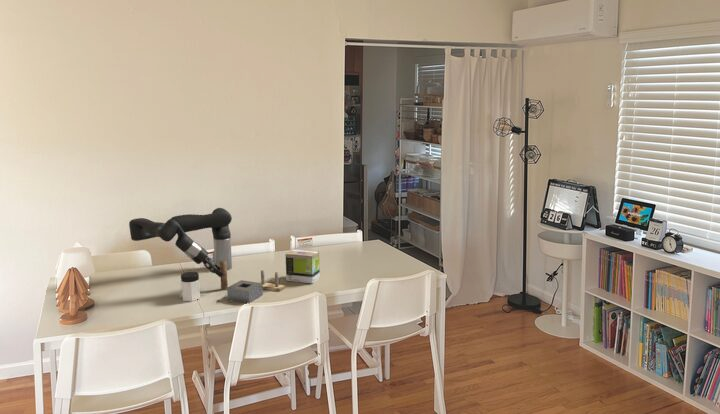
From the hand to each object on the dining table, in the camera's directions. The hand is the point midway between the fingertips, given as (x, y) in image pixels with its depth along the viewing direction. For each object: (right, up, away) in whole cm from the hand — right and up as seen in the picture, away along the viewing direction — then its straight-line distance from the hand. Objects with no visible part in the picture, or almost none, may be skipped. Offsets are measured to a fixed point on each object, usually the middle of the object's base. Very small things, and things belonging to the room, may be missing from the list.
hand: (220, 273), depth 304 cm
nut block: (+14, -11, -9) cm, 19 cm away
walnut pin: (+1, -8, +3) cm, 9 cm away
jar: (-12, -11, -10) cm, 19 cm away
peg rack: (+24, -8, +4) cm, 25 cm away
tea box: (+39, -5, +17) cm, 43 cm away
